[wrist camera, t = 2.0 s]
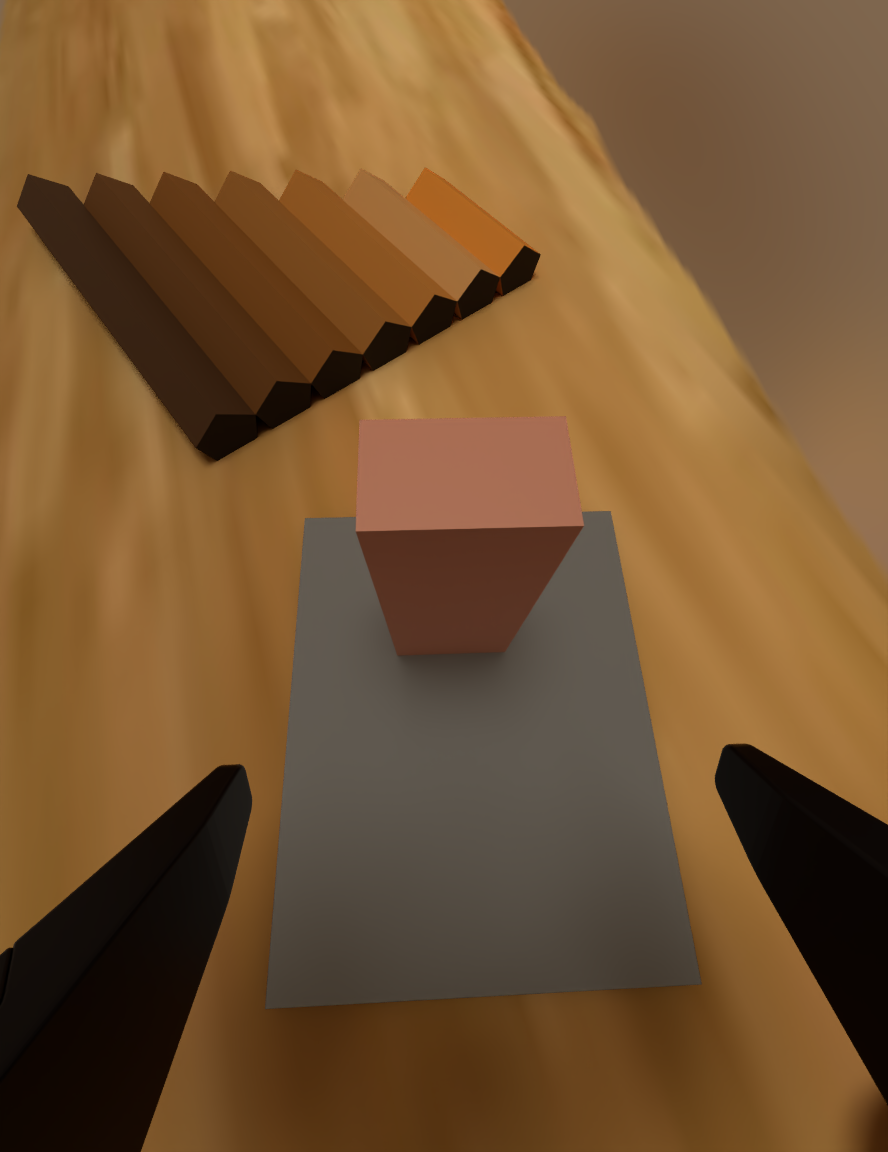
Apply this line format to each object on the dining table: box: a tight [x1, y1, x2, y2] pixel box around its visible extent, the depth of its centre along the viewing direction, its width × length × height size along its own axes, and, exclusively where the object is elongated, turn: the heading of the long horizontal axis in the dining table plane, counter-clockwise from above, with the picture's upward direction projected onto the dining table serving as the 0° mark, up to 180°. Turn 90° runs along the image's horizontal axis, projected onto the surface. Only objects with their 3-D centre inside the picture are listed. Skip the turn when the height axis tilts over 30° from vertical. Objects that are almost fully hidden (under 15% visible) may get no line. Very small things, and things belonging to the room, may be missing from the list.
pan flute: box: [17, 168, 541, 461], centre depth 32 cm, size 25×3×25 cm
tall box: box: [356, 416, 584, 656], centre depth 17 cm, size 3×5×12 cm, turn 92°
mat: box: [265, 511, 701, 1009], centre depth 21 cm, size 20×16×1 cm
